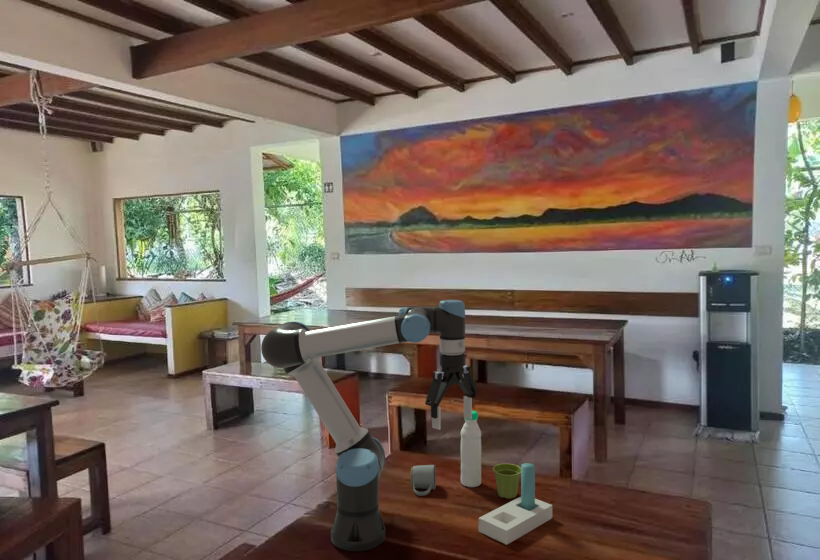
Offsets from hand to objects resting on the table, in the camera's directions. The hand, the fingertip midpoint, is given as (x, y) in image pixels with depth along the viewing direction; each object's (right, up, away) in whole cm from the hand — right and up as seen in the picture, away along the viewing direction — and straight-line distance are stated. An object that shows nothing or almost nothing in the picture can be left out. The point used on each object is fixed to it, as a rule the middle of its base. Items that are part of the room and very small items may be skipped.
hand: (452, 423), depth 171 cm
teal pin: (+23, -28, +1) cm, 36 cm away
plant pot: (+19, -28, +17) cm, 38 cm away
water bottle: (+8, -27, +26) cm, 38 cm away
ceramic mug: (-8, -28, +21) cm, 36 cm away
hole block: (+18, -29, -3) cm, 34 cm away
